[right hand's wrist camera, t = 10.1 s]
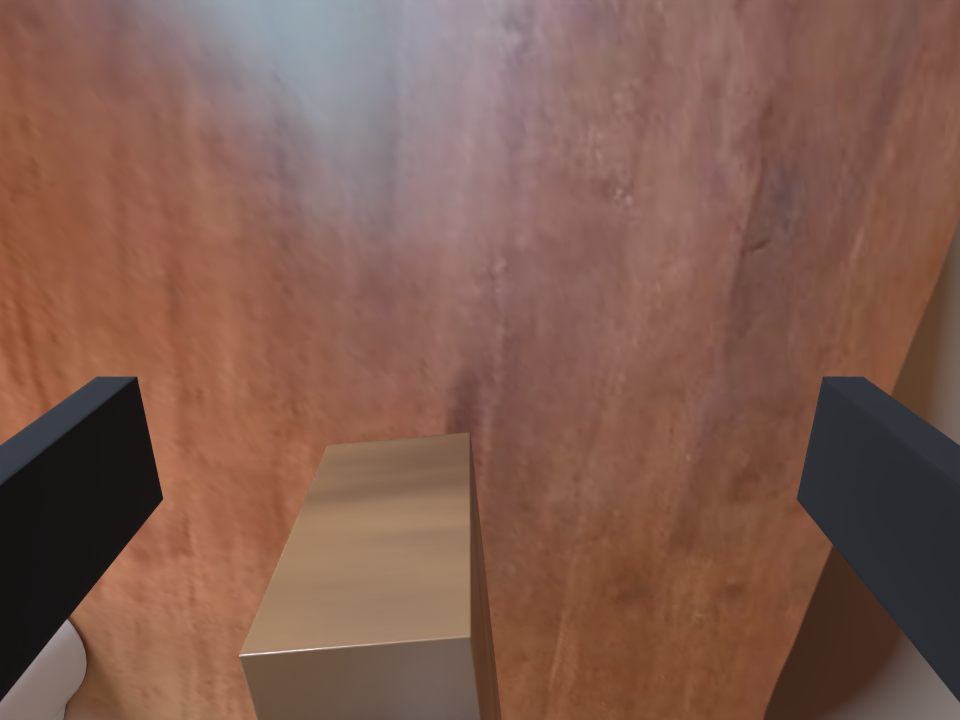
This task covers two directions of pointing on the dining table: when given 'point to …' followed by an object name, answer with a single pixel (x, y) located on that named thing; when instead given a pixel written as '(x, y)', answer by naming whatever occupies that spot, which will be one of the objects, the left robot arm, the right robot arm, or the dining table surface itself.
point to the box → (379, 592)
